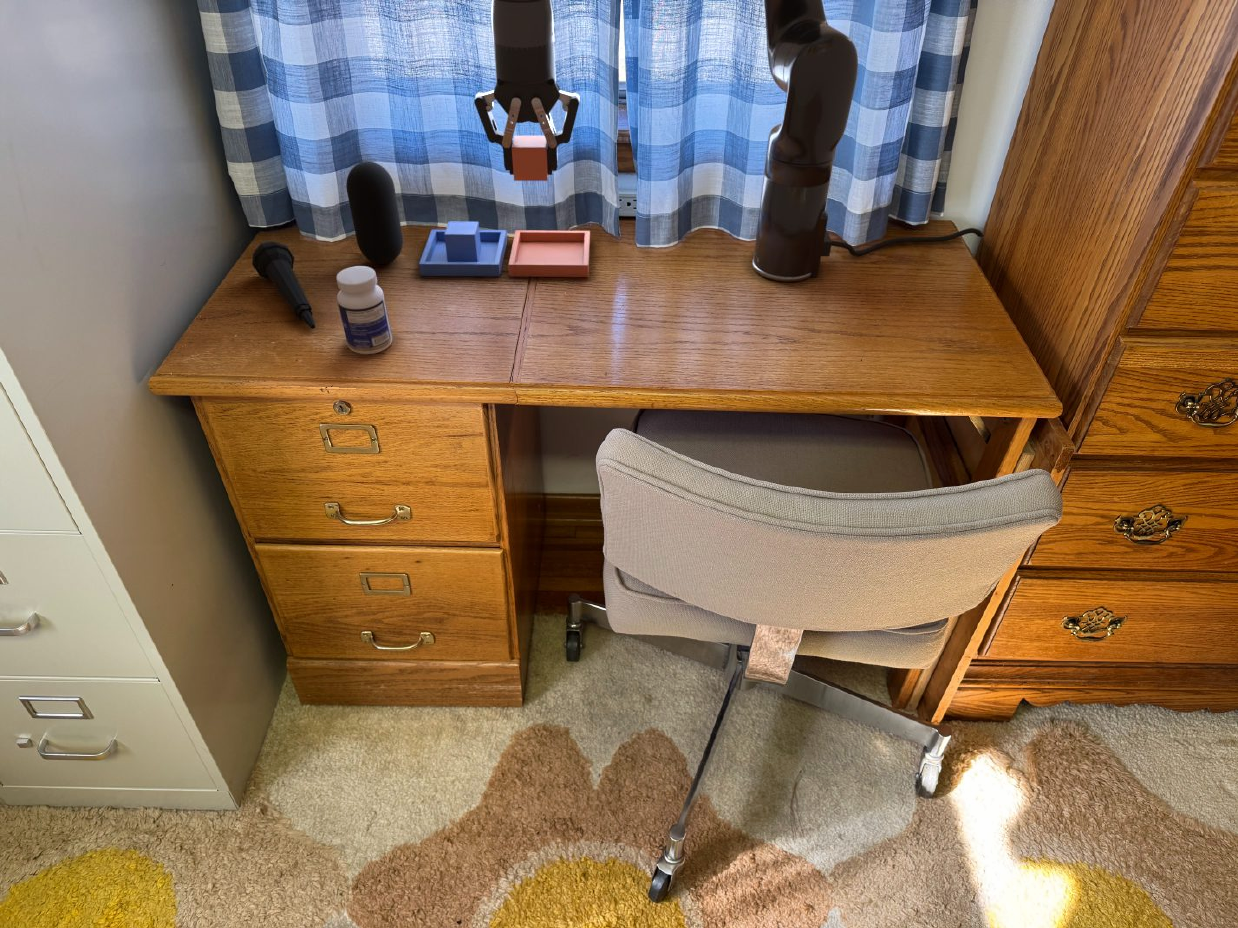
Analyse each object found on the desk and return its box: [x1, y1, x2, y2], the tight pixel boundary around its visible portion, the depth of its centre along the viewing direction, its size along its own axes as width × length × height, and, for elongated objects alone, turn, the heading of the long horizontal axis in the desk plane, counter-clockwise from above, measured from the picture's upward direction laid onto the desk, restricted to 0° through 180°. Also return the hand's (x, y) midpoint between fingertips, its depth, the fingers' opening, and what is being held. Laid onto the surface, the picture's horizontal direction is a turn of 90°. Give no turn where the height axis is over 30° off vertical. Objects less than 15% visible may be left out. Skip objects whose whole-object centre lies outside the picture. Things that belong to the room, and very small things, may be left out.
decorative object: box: [345, 161, 404, 265], centre depth 123 cm, size 7×7×15 cm
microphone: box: [251, 240, 316, 330], centre depth 118 cm, size 6×6×20 cm
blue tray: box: [418, 229, 508, 277], centre depth 128 cm, size 12×12×2 cm
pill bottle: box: [336, 265, 393, 355], centre depth 107 cm, size 6×6×10 cm
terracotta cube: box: [512, 135, 549, 182], centre depth 115 cm, size 4×4×4 cm
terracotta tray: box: [507, 229, 591, 278], centre depth 128 cm, size 12×12×2 cm
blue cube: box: [444, 220, 481, 262], centre depth 127 cm, size 4×4×4 cm
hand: (531, 172), depth 116 cm, fingers closed on terracotta cube, 4 cm apart
